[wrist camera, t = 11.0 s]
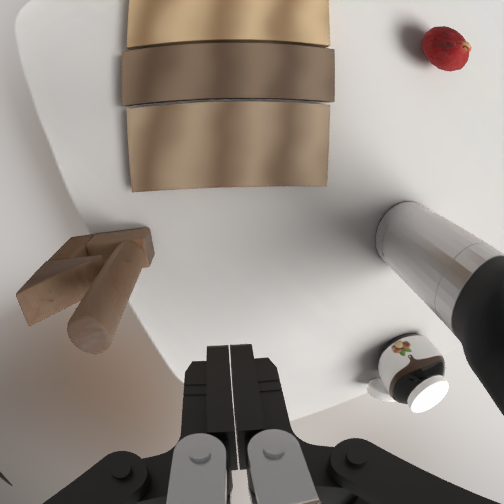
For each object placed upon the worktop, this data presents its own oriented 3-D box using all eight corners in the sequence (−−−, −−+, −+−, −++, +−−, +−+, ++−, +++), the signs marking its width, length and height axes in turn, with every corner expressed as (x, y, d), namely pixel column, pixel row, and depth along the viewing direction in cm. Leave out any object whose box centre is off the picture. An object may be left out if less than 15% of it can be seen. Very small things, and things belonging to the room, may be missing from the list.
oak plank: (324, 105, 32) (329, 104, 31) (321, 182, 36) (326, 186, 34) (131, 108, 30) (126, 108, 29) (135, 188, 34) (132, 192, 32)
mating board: (328, 52, 30) (334, 49, 28) (328, 102, 32) (334, 101, 31) (127, 55, 28) (122, 51, 26) (127, 106, 30) (121, 105, 29)
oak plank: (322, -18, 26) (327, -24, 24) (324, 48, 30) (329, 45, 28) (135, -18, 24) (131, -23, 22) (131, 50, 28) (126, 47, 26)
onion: (411, 68, 31) (451, 63, 24) (408, 27, 29) (446, 15, 21) (446, 76, 31) (486, 74, 24) (443, 37, 29) (482, 29, 22)
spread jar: (426, 324, 47) (462, 368, 37) (418, 369, 52) (446, 412, 41) (362, 346, 47) (391, 399, 37) (361, 390, 52) (384, 439, 41)
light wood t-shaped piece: (70, 236, 35) (-6, 317, 19) (150, 226, 36) (103, 314, 20) (77, 263, 37) (11, 353, 21) (155, 255, 38) (118, 355, 21)
